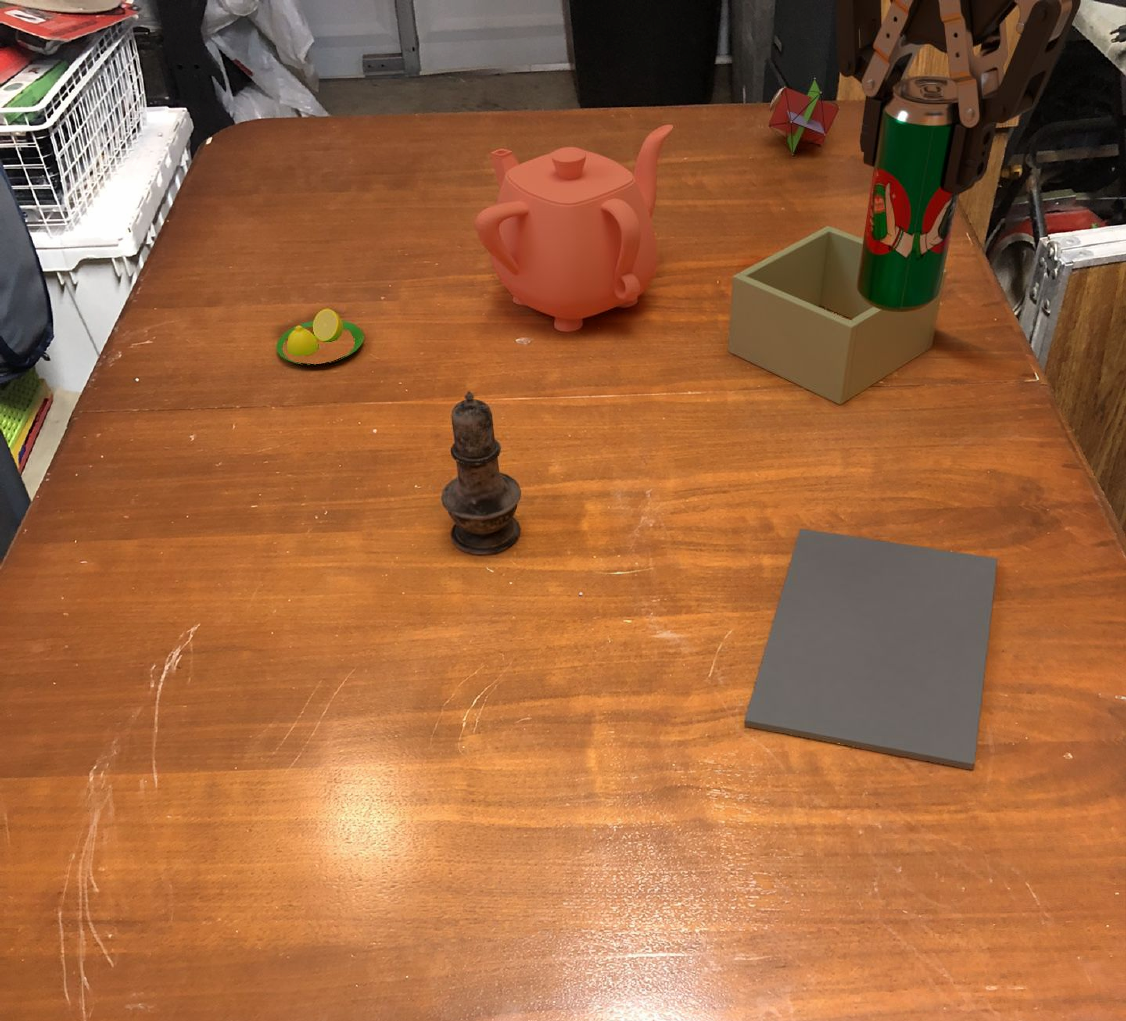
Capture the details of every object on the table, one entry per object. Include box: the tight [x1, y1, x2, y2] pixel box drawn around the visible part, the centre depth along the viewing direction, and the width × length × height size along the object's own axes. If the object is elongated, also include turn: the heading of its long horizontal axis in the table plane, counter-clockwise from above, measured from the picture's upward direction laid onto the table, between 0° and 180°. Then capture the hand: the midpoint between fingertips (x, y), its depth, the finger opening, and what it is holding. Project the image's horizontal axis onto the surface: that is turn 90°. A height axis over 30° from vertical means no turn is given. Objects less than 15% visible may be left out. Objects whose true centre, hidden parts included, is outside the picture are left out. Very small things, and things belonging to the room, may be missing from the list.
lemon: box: [276, 308, 365, 366], centre depth 107 cm, size 8×8×3 cm
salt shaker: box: [440, 390, 522, 556], centre depth 84 cm, size 6×6×12 cm
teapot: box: [475, 124, 674, 333], centre depth 107 cm, size 16×17×14 cm
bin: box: [727, 225, 948, 406], centre depth 101 cm, size 13×13×7 cm
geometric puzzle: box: [767, 77, 841, 156], centre depth 130 cm, size 7×7×8 cm
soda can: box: [857, 74, 961, 312], centre depth 69 cm, size 5×5×12 cm
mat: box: [743, 528, 999, 771], centre depth 79 cm, size 20×14×1 cm
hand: (917, 174), depth 68 cm, fingers closed on soda can, 5 cm apart
